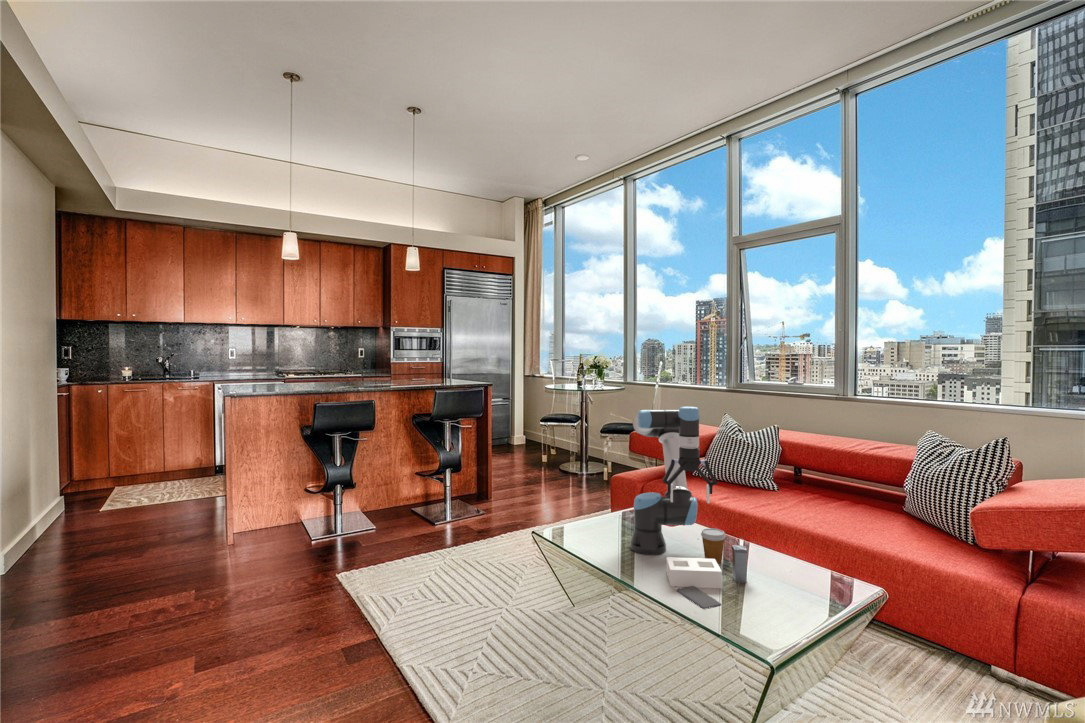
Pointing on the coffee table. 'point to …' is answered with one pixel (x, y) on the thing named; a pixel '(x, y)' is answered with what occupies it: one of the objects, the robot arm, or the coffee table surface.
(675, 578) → the socket box
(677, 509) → the robot arm
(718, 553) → the disposable coffee cup
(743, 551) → the plug
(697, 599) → the smartphone
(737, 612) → the coffee table surface
